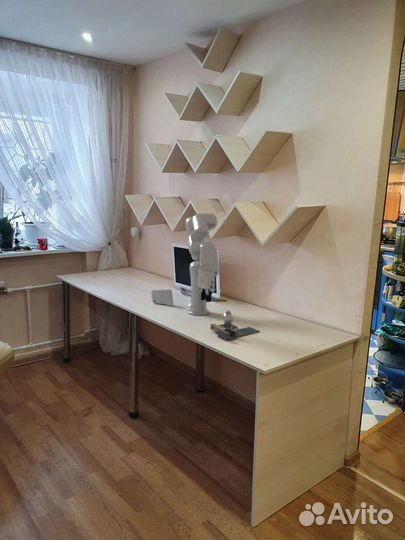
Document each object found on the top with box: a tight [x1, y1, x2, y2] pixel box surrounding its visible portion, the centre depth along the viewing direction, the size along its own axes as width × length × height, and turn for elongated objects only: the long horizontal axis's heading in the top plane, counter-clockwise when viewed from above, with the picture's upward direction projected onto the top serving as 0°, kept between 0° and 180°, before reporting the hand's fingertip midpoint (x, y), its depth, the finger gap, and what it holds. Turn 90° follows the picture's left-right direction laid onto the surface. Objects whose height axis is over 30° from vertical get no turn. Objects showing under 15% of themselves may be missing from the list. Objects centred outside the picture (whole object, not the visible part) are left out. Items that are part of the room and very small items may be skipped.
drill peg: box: [223, 310, 233, 328], centre depth 222 cm, size 4×4×9 cm
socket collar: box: [217, 323, 238, 330], centre depth 222 cm, size 8×8×1 cm
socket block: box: [217, 327, 238, 342], centre depth 206 cm, size 7×7×4 cm
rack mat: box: [235, 326, 260, 338], centre depth 215 cm, size 8×15×1 cm, turn 127°
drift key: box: [209, 323, 226, 333], centre depth 212 cm, size 10×3×3 cm, turn 37°
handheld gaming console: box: [150, 288, 174, 307], centre depth 265 cm, size 11×3×15 cm
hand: (206, 300), depth 218 cm, fingers open, 3 cm apart
